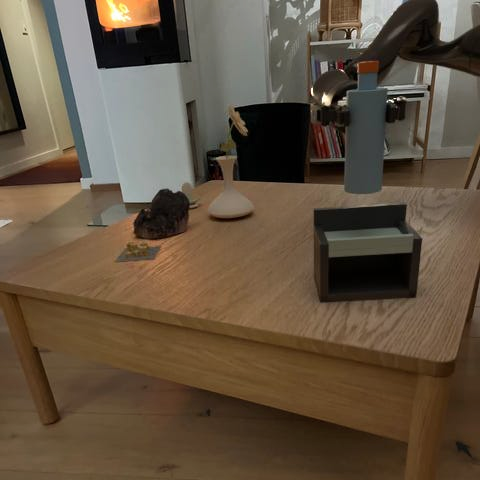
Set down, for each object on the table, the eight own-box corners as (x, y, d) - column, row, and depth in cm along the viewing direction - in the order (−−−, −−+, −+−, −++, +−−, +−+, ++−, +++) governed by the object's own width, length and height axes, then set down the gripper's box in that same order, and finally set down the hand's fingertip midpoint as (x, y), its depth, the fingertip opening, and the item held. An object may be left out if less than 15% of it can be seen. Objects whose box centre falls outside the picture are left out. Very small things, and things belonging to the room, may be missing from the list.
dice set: (128, 250, 100) (126, 241, 99) (152, 248, 99) (150, 239, 98) (122, 258, 95) (120, 249, 94) (147, 257, 95) (145, 248, 94)
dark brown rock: (122, 242, 107) (115, 199, 101) (147, 220, 118) (141, 180, 112) (178, 247, 104) (173, 203, 98) (198, 224, 115) (195, 183, 109)
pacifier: (196, 210, 125) (204, 203, 130) (193, 186, 122) (201, 180, 127) (171, 210, 127) (179, 203, 132) (167, 187, 124) (176, 181, 129)
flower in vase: (238, 224, 110) (229, 106, 99) (199, 220, 116) (185, 108, 104) (266, 209, 120) (260, 100, 108) (228, 206, 125) (219, 103, 114)
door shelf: (320, 302, 71) (320, 227, 65) (313, 276, 79) (313, 208, 74) (416, 297, 70) (424, 220, 64) (399, 271, 78) (404, 202, 73)
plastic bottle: (377, 184, 70) (384, 60, 63) (385, 192, 66) (393, 59, 58) (341, 187, 71) (344, 63, 63) (347, 195, 66) (350, 63, 58)
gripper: (304, 84, 75) (313, 88, 60) (397, 76, 74) (430, 78, 59) (304, 134, 78) (313, 150, 63) (393, 128, 77) (424, 142, 62)
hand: (369, 116), depth 61 cm, fingers closed on plastic bottle, 5 cm apart
